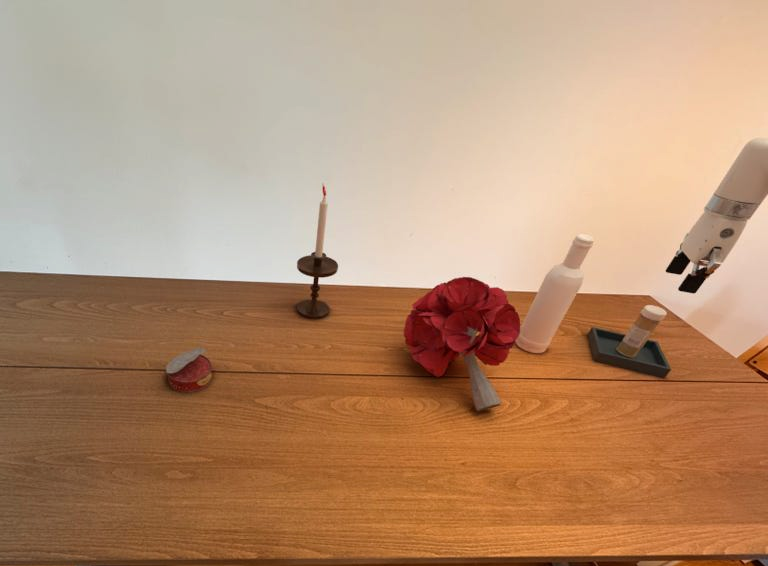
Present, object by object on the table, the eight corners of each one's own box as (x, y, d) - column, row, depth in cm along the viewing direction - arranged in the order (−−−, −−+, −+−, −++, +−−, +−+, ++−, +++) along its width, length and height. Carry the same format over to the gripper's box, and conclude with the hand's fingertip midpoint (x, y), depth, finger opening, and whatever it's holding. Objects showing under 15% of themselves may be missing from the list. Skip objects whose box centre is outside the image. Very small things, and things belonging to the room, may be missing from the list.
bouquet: (504, 410, 102) (461, 301, 112) (576, 380, 80) (515, 248, 89) (422, 427, 98) (385, 313, 108) (474, 401, 76) (422, 261, 86)
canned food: (184, 407, 95) (157, 385, 87) (175, 375, 101) (150, 352, 93) (227, 382, 94) (204, 358, 86) (215, 351, 100) (193, 327, 93)
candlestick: (298, 322, 115) (308, 191, 93) (290, 301, 123) (298, 176, 101) (336, 319, 117) (355, 190, 95) (326, 299, 125) (341, 175, 103)
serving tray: (651, 349, 113) (657, 341, 111) (664, 378, 104) (671, 369, 102) (586, 334, 117) (591, 326, 115) (593, 360, 108) (599, 352, 106)
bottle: (551, 346, 112) (611, 238, 93) (538, 357, 108) (598, 247, 89) (522, 332, 116) (574, 227, 97) (508, 342, 112) (559, 234, 93)
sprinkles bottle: (639, 355, 109) (671, 312, 101) (628, 360, 107) (660, 316, 99) (621, 345, 112) (651, 302, 104) (611, 350, 110) (641, 306, 102)
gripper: (773, 224, 78) (712, 303, 89) (736, 197, 91) (686, 269, 101) (725, 217, 80) (670, 295, 91) (694, 192, 93) (650, 263, 103)
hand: (679, 282), depth 96 cm, fingers open, 9 cm apart
